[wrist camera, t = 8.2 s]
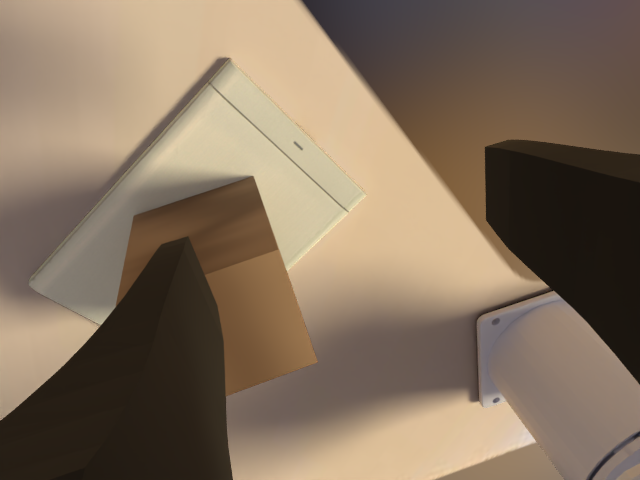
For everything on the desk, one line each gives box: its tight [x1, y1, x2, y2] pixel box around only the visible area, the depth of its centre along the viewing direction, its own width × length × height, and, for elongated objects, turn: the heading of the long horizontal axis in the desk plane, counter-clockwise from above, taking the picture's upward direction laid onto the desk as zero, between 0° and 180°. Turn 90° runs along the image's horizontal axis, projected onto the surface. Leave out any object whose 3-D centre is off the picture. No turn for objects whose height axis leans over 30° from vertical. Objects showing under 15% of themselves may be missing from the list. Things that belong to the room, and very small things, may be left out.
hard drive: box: [29, 58, 367, 325], centre depth 21 cm, size 2×8×12 cm
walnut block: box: [116, 176, 318, 396], centre depth 18 cm, size 5×5×6 cm
